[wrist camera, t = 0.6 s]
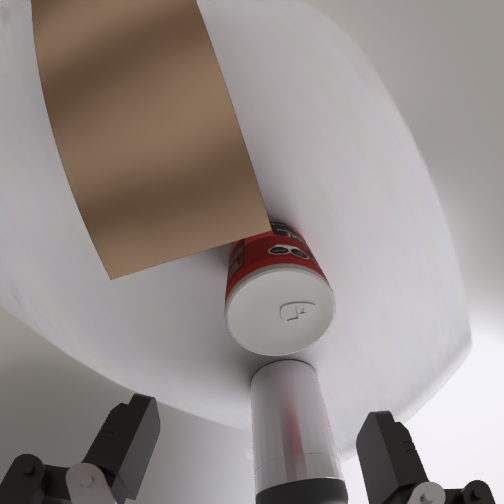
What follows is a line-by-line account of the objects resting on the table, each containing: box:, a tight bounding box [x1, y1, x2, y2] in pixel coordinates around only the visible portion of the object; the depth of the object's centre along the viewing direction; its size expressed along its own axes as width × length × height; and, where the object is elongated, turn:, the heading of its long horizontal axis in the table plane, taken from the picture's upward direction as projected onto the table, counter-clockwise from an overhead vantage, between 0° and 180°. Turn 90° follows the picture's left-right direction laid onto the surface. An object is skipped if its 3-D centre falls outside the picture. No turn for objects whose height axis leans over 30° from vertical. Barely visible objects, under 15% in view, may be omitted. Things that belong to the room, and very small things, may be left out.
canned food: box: [225, 222, 336, 356], centre depth 25 cm, size 8×8×11 cm
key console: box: [31, 0, 272, 280], centre depth 17 cm, size 18×8×16 cm, turn 17°
